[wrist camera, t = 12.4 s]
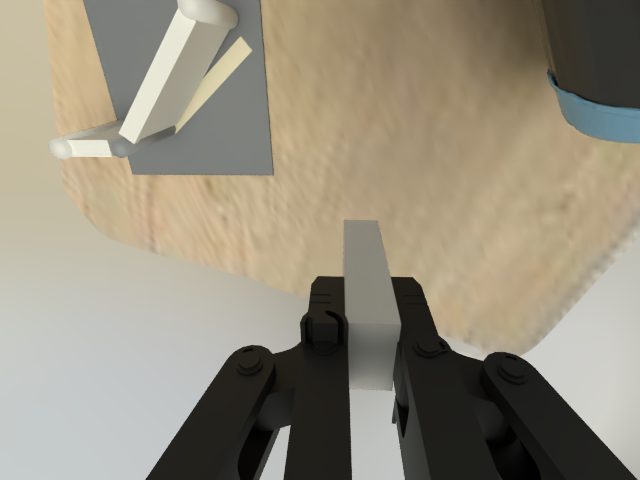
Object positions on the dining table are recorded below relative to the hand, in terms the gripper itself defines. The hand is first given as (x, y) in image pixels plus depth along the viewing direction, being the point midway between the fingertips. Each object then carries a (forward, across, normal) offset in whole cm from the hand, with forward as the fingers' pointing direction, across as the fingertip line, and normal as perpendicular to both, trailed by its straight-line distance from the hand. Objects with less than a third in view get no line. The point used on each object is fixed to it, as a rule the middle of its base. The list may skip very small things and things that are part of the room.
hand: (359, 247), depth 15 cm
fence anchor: (+29, -25, 0) cm, 38 cm away
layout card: (+29, -19, +6) cm, 36 cm away
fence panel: (+28, -17, +7) cm, 34 cm away
